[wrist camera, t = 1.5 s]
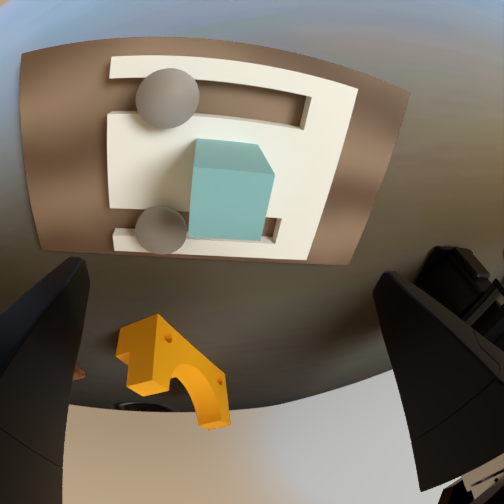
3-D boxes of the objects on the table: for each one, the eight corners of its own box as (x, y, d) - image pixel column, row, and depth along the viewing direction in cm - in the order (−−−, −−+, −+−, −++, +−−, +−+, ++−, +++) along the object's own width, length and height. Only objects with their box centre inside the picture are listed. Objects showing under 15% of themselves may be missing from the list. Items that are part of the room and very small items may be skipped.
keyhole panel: (302, 252, 19) (326, 305, 16) (117, 242, 17) (98, 298, 13) (351, 86, 13) (403, 103, 9) (116, 56, 10) (76, 58, 7)
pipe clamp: (120, 326, 24) (110, 390, 19) (157, 311, 23) (152, 380, 18) (191, 381, 31) (194, 432, 26) (224, 372, 30) (230, 425, 25)
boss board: (342, 255, 22) (357, 281, 20) (48, 240, 17) (32, 266, 15) (399, 89, 14) (429, 98, 12) (32, 52, 10) (3, 56, 7)
